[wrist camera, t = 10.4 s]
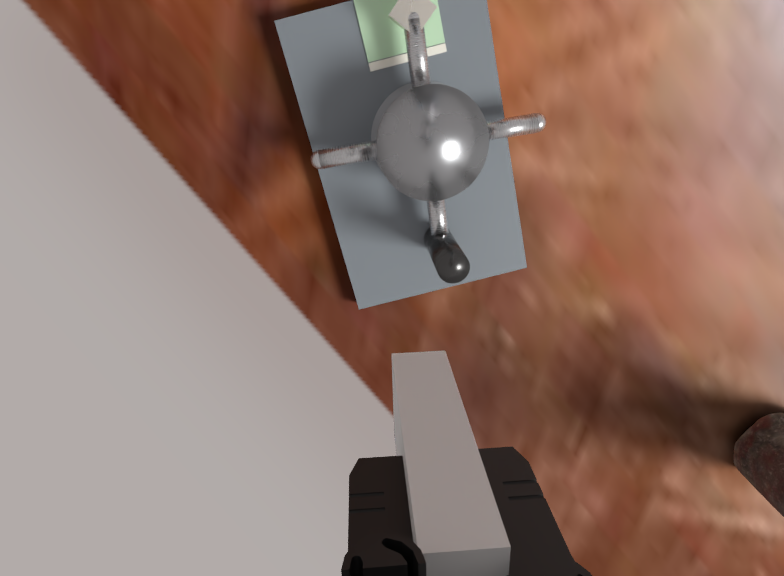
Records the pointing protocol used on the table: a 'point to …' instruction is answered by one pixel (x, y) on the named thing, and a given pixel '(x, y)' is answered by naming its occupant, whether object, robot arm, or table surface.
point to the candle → (764, 458)
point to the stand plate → (360, 124)
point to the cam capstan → (430, 141)
